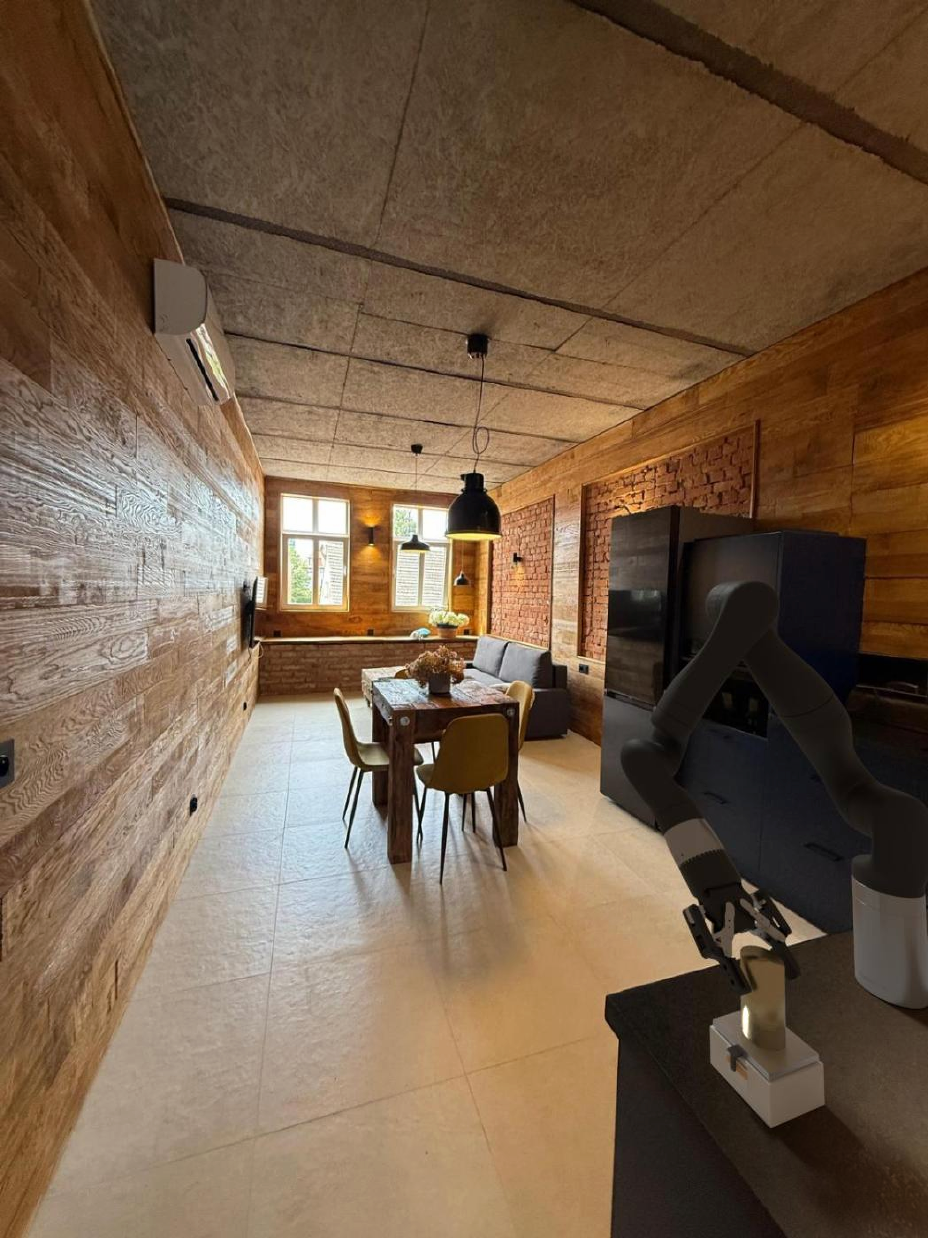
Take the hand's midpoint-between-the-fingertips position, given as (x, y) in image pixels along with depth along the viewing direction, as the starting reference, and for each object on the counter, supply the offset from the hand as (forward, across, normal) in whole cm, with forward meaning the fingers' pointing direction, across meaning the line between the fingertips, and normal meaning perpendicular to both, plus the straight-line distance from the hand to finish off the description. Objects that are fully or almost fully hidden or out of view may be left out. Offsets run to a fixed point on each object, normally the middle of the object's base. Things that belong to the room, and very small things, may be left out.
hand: (771, 986), depth 61 cm
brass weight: (+4, 0, +6) cm, 8 cm away
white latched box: (+9, 0, +10) cm, 14 cm away
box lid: (+7, -1, +9) cm, 12 cm away
